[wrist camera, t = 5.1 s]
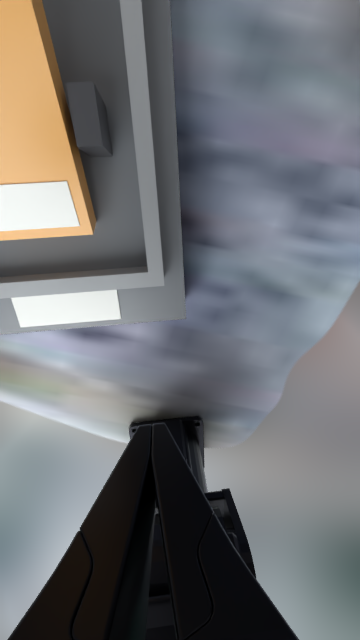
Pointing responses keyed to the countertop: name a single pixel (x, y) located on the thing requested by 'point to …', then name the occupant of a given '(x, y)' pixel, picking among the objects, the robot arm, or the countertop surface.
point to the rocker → (37, 134)
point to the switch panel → (109, 178)
